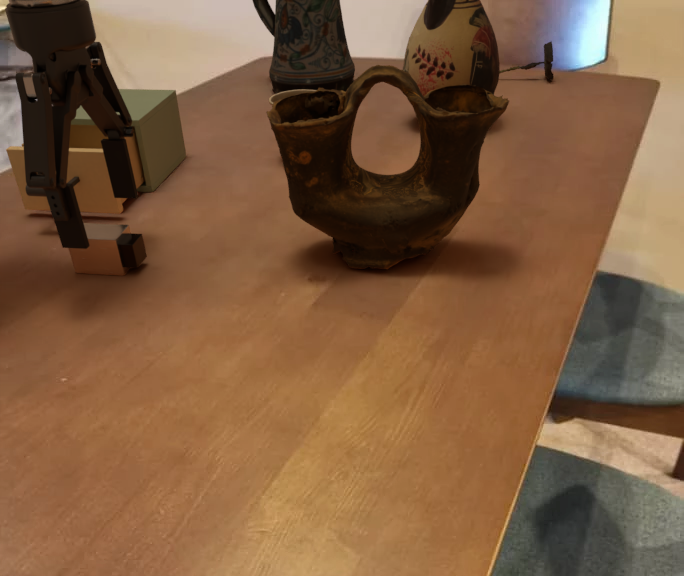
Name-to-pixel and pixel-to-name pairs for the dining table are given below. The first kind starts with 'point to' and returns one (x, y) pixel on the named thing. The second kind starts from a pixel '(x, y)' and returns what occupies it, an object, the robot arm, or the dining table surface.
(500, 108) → the pottery vessel
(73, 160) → the drawer
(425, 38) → the ceramic jug
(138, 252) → the black-capped tan block
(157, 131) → the cabinet
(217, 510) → the dining table surface
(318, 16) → the beer stein
